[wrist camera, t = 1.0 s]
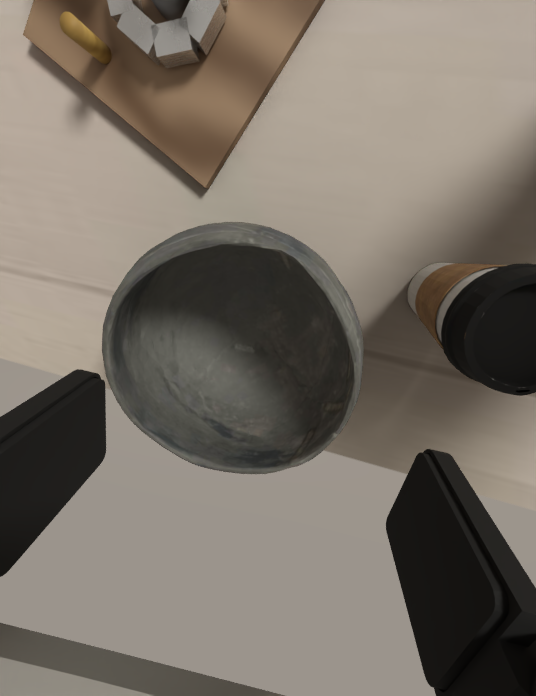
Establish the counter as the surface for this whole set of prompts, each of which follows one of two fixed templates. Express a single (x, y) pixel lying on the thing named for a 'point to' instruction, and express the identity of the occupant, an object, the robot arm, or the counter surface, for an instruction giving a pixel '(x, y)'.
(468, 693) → the robot arm
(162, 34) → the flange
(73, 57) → the post base
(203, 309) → the bowl
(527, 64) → the counter surface
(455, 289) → the coffee cup
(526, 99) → the counter surface
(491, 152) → the counter surface
